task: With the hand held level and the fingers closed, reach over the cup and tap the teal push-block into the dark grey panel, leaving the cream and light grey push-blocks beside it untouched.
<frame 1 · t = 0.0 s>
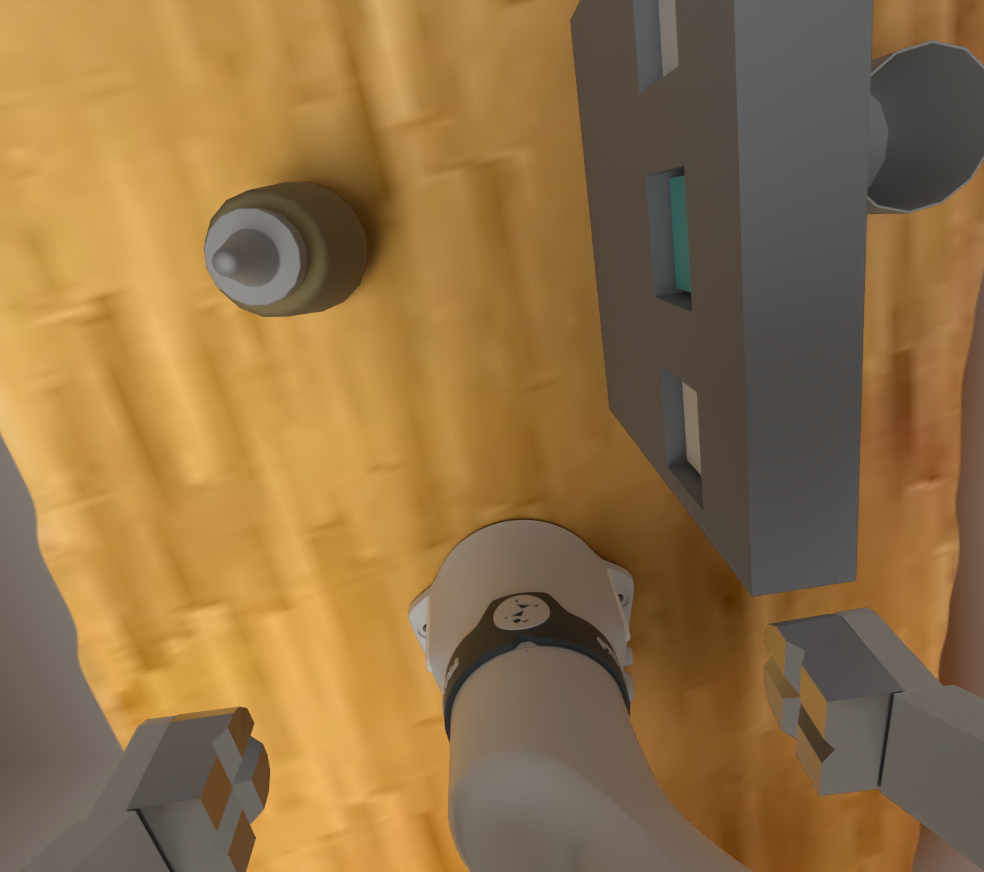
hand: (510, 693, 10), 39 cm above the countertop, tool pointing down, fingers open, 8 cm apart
cup: (821, 149, 44), on the countertop
button panel: (620, 227, 45), on the countertop
teal push-block: (758, 224, 28), point 18 cm above the countertop, slide at 0.0 cm
squeeze bottle: (317, 246, 45), on the countertop
cream push-block: (762, 420, 31), point 18 cm above the countertop, slide at 0.0 cm
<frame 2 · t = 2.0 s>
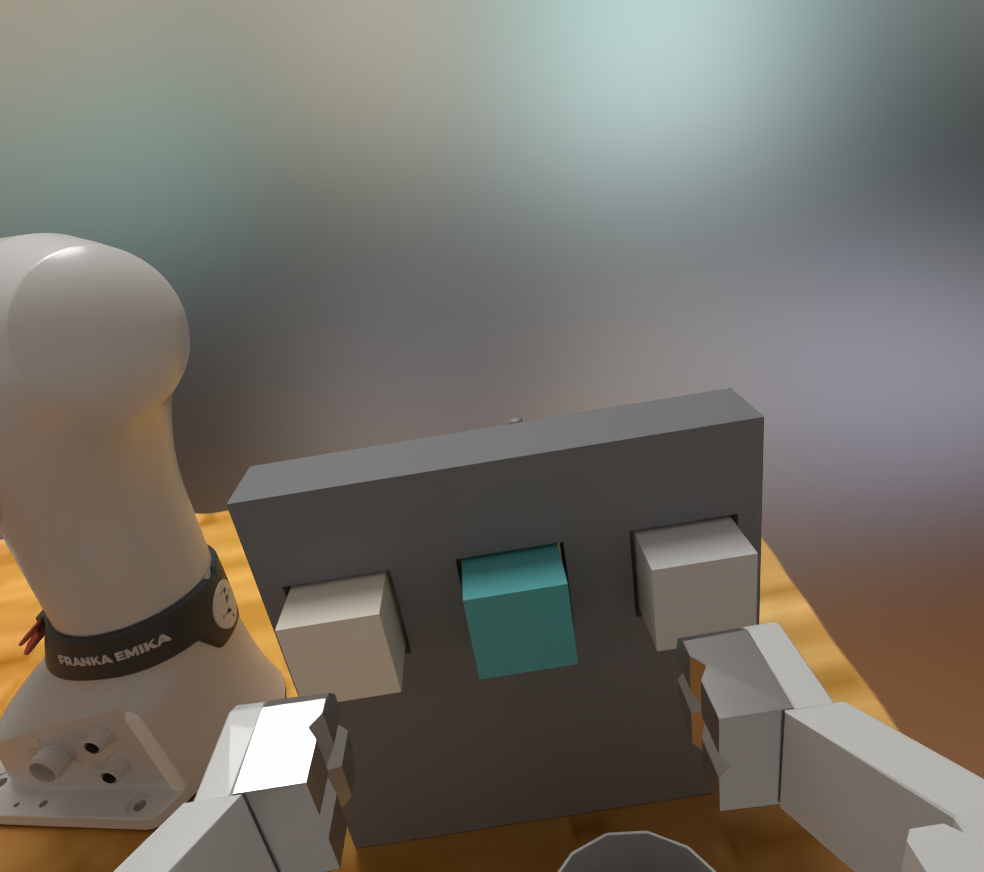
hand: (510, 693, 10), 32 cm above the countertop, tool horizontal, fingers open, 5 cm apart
button panel: (550, 789, 44), on the countertop
teal push-block: (516, 594, 34), point 18 cm above the countertop, slide at 0.0 cm
light grey push-block: (685, 567, 34), point 18 cm above the countertop, slide at 0.0 cm
cream push-block: (349, 621, 34), point 18 cm above the countertop, slide at 0.0 cm
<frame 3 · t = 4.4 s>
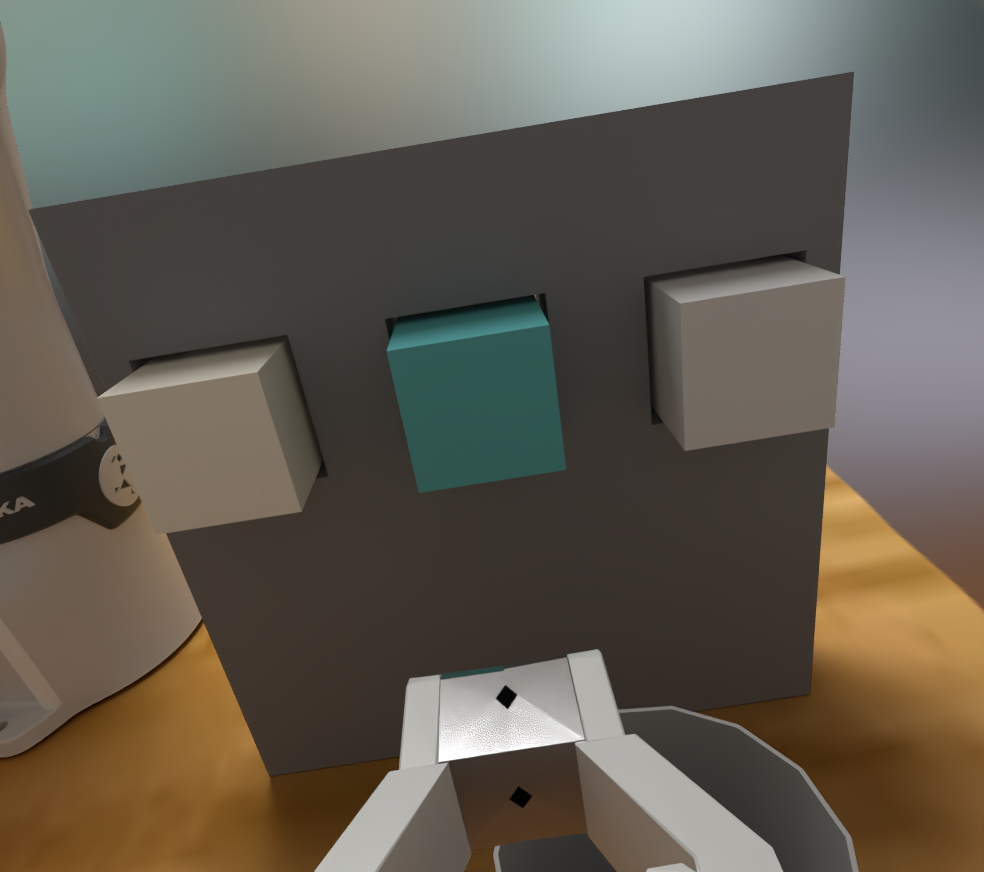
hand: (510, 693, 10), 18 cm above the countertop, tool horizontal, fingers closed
button panel: (533, 702, 33), on the countertop
teal push-block: (477, 382, 23), point 18 cm above the countertop, slide at 0.0 cm
light grey push-block: (725, 342, 23), point 18 cm above the countertop, slide at 0.0 cm
cream push-block: (233, 421, 24), point 18 cm above the countertop, slide at 0.0 cm
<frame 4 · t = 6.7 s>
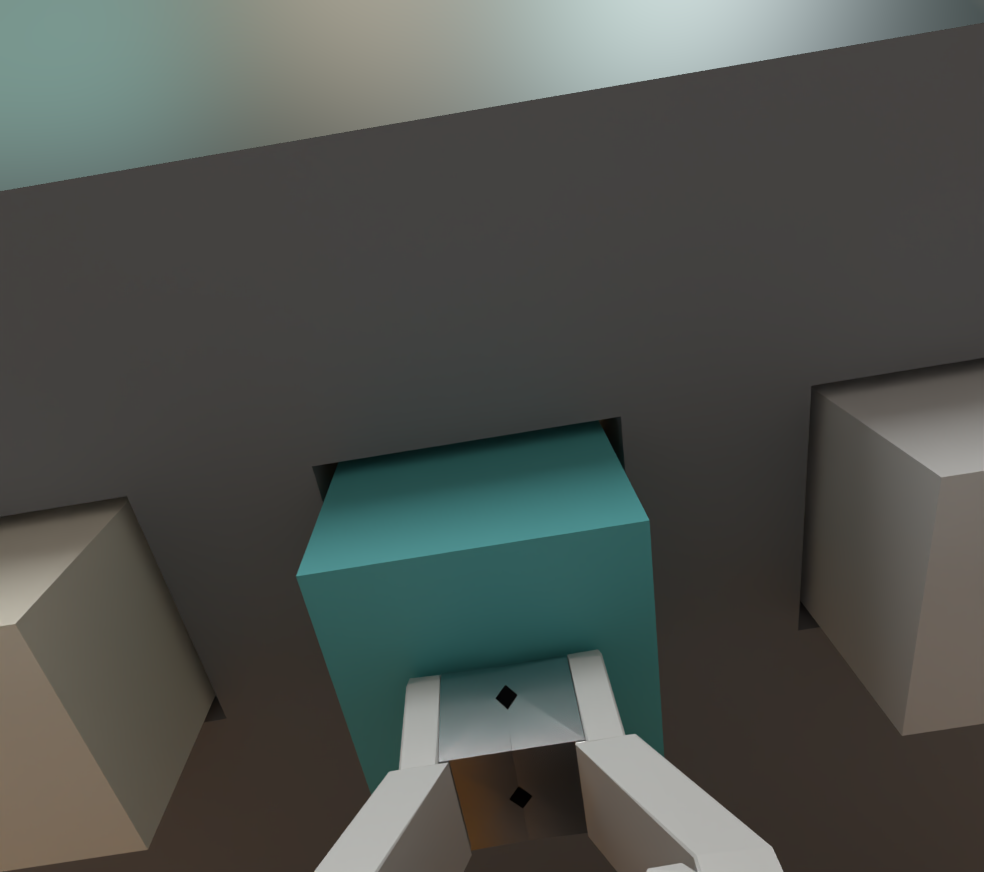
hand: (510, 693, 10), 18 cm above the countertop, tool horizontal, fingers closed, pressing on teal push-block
teal push-block: (489, 566, 13), point 18 cm above the countertop, slide at 0.1 cm, touching gripper
light grey push-block: (948, 496, 13), point 18 cm above the countertop, slide at 0.0 cm
cream push-block: (43, 639, 13), point 18 cm above the countertop, slide at 0.0 cm
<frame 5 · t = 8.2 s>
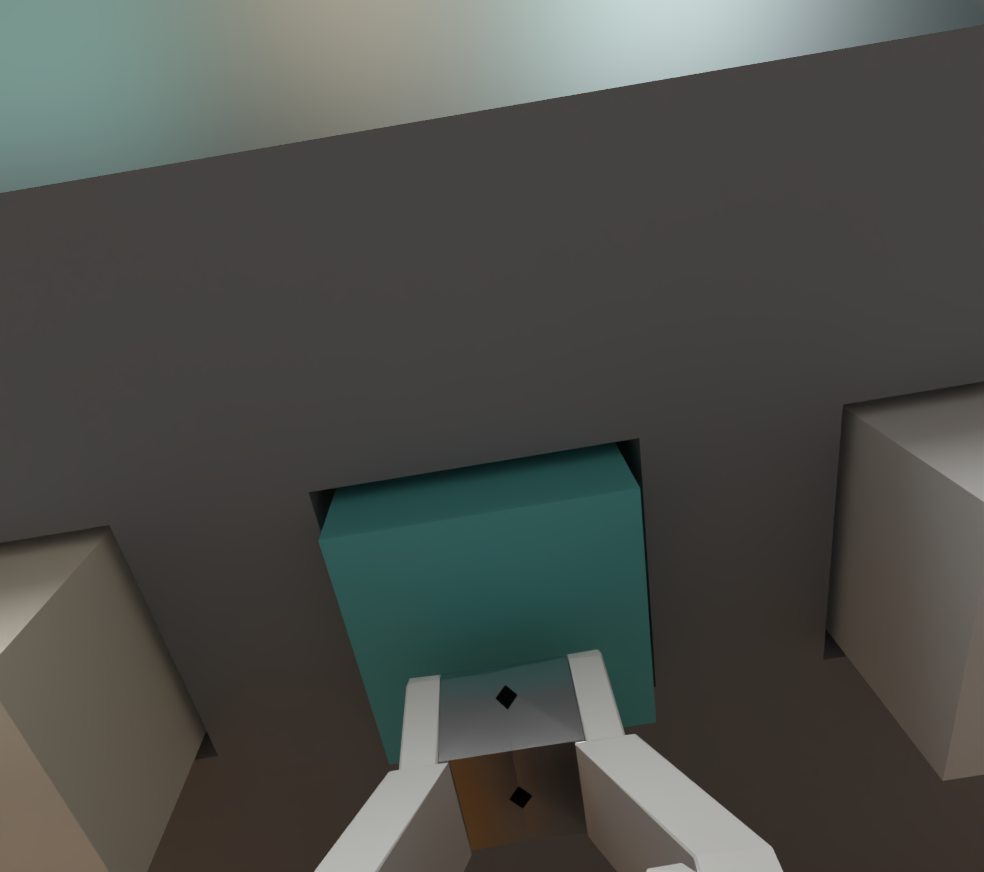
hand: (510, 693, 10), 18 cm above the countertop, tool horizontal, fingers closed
teal push-block: (492, 541, 14), point 18 cm above the countertop, slide at 1.9 cm
cream push-block: (21, 675, 12), point 18 cm above the countertop, slide at 0.0 cm
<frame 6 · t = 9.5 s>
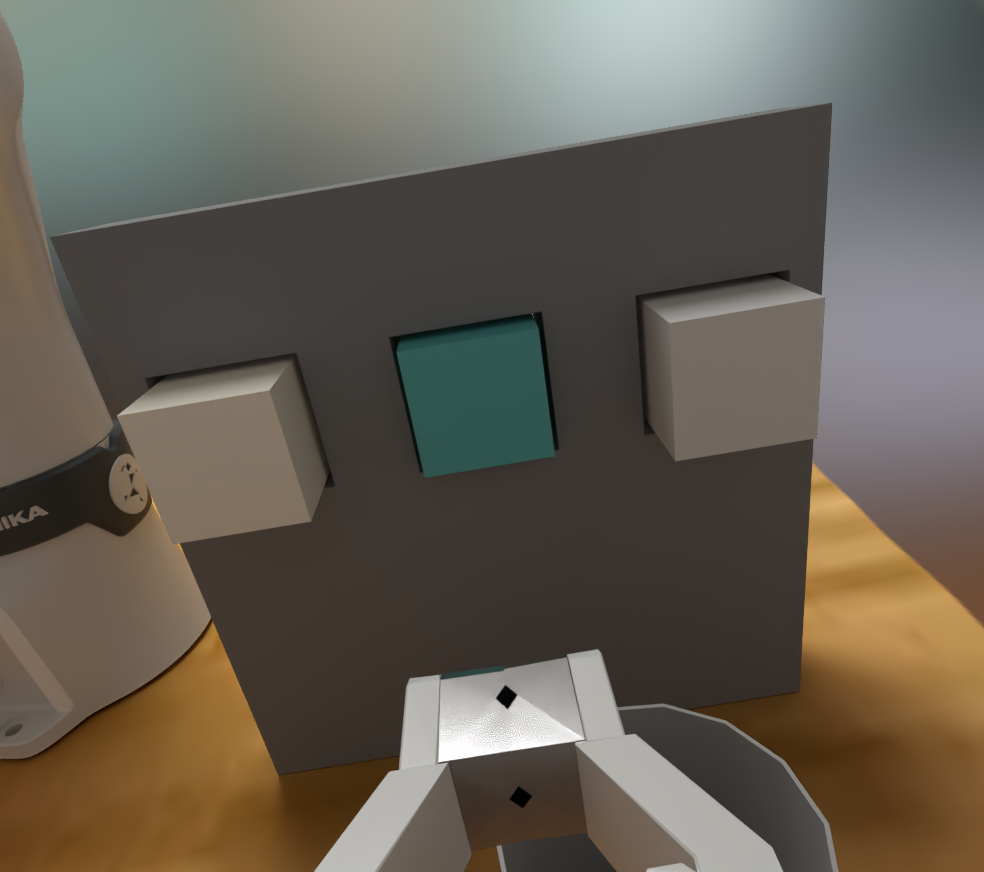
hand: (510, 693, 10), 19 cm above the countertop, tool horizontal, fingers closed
button panel: (532, 701, 34), on the countertop
teal push-block: (476, 379, 26), point 18 cm above the countertop, slide at 1.9 cm
light grey push-block: (713, 356, 24), point 18 cm above the countertop, slide at 0.0 cm
cream push-block: (244, 435, 25), point 18 cm above the countertop, slide at 0.0 cm
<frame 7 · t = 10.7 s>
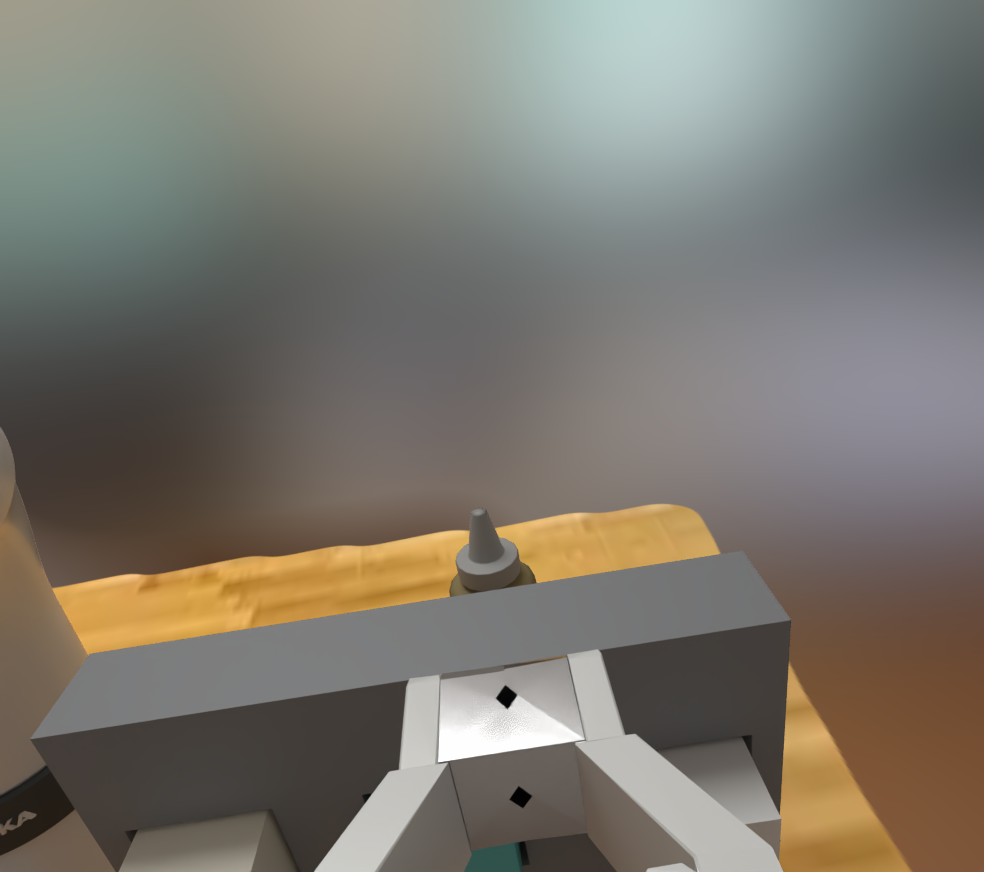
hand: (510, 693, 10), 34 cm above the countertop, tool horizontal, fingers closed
teal push-block: (449, 786, 27), point 18 cm above the countertop, slide at 1.9 cm
light grey push-block: (679, 796, 25), point 18 cm above the countertop, slide at 0.0 cm
squeeze bottle: (513, 697, 54), on the countertop
cream push-block: (222, 866, 25), point 18 cm above the countertop, slide at 0.0 cm
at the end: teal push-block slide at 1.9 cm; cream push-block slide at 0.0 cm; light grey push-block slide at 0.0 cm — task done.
